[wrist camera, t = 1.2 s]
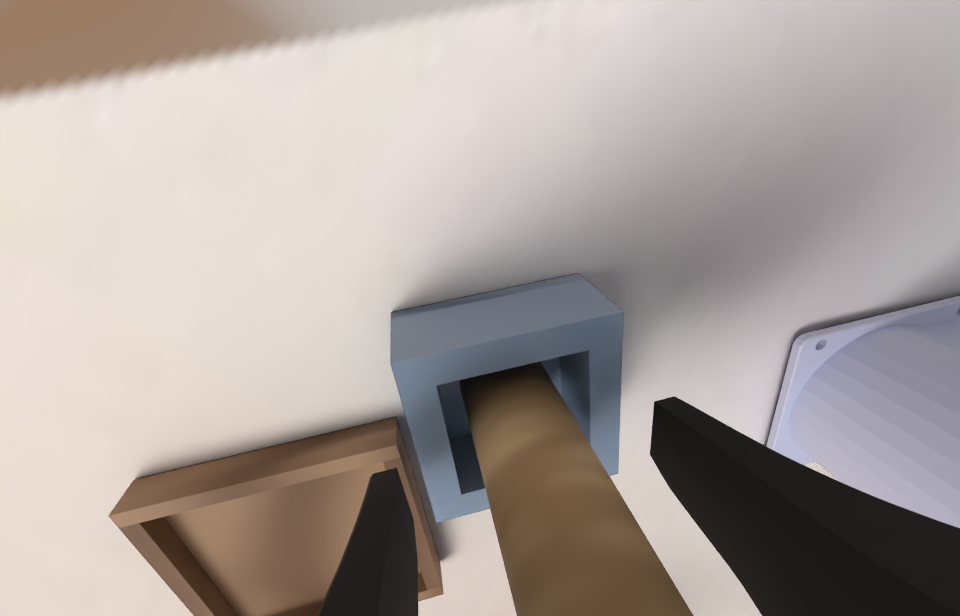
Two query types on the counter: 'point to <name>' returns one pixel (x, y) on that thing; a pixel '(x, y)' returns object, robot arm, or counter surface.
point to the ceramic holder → (498, 346)
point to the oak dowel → (559, 506)
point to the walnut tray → (268, 522)
